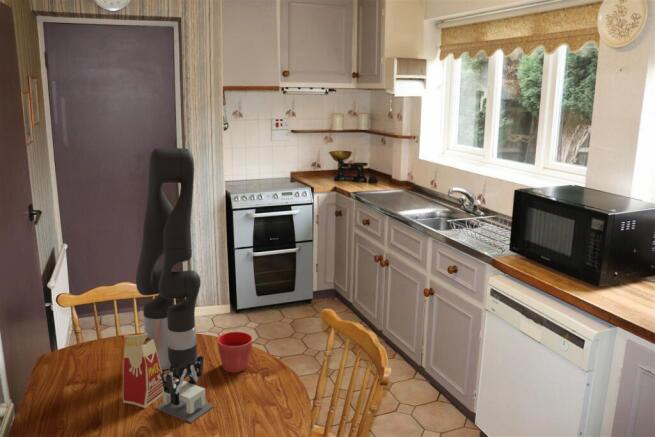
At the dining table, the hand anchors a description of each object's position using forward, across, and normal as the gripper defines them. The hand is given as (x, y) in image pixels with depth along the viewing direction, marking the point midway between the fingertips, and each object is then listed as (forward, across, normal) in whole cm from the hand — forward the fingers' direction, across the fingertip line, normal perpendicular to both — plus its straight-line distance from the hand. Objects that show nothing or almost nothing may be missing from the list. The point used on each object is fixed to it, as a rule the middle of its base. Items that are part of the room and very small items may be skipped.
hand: (184, 398), depth 158 cm
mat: (+3, 0, 0) cm, 3 cm away
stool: (-1, 0, +5) cm, 5 cm away
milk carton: (+3, -2, +14) cm, 14 cm away
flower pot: (+3, +26, +3) cm, 26 cm away
